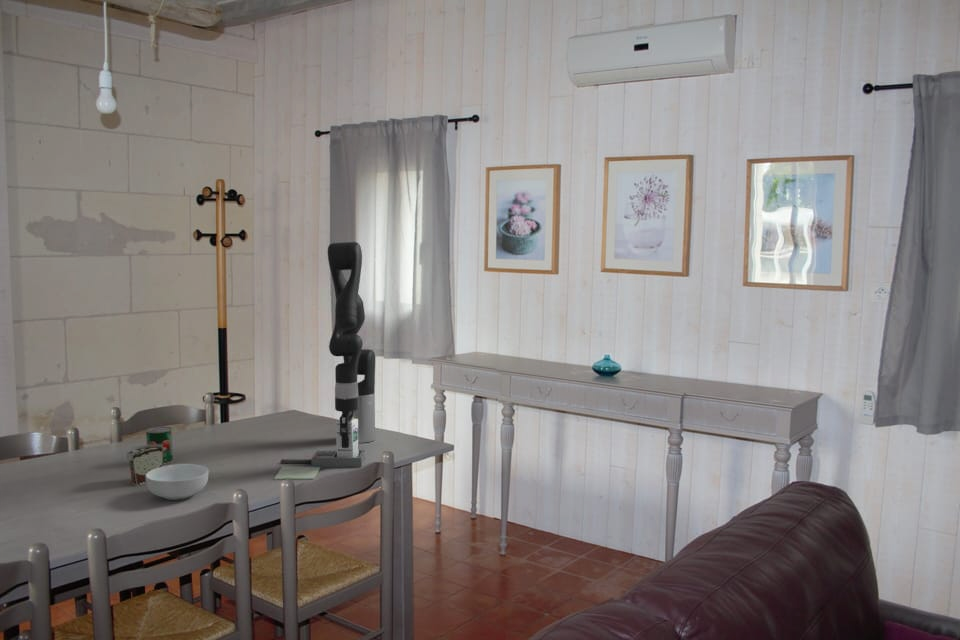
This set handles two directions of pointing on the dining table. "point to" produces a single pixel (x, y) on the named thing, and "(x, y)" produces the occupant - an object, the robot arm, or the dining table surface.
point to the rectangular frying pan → (330, 459)
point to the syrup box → (353, 440)
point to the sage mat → (297, 472)
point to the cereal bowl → (177, 480)
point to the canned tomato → (161, 440)
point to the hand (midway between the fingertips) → (347, 444)
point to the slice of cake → (144, 461)
